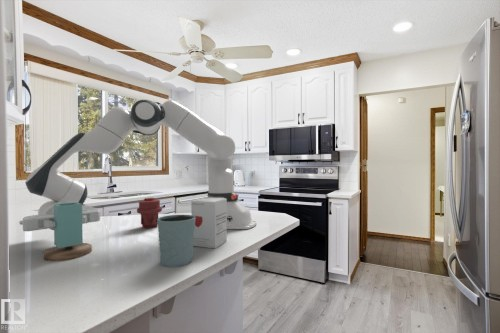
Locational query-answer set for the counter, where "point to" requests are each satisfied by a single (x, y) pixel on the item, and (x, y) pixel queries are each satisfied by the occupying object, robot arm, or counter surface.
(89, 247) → the post stand
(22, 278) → the counter surface
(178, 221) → the teal cup
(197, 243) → the supplement box
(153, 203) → the mechanical component
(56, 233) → the teal box
